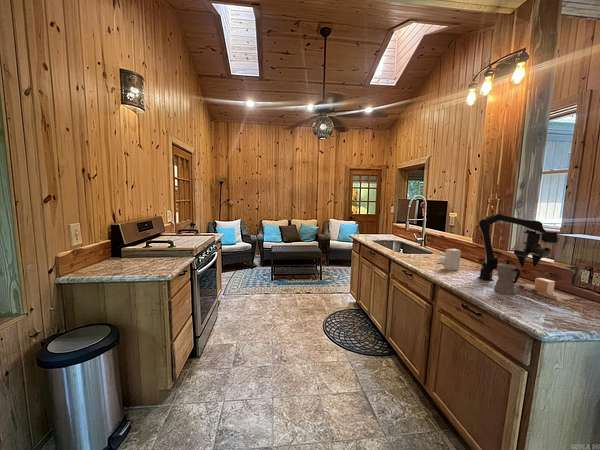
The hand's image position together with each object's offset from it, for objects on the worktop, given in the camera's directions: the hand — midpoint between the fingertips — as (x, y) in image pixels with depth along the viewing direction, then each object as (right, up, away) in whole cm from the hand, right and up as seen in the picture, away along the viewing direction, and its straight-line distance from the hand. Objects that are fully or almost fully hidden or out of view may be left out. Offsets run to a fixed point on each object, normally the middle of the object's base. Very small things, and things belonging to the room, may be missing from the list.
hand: (528, 266), depth 161 cm
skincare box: (-29, -7, +32) cm, 44 cm away
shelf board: (-3, -13, -12) cm, 18 cm away
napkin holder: (-23, -6, +49) cm, 55 cm away
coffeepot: (-24, -13, -13) cm, 30 cm away
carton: (-3, -12, -13) cm, 18 cm away
